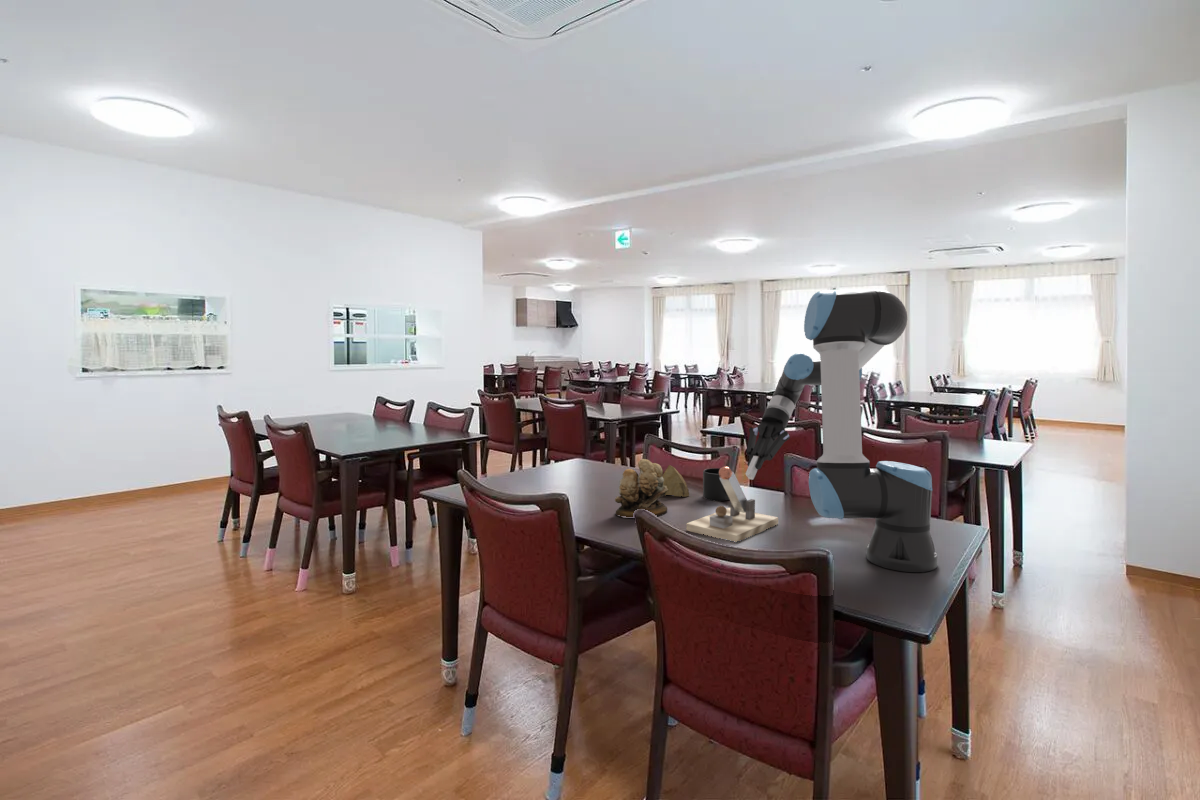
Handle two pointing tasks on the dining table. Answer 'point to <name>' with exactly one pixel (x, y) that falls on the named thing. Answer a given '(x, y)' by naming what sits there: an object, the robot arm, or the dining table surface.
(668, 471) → the rock
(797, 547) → the dining table surface
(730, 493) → the lever
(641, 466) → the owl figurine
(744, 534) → the tan bracket base plate
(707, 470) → the mug
